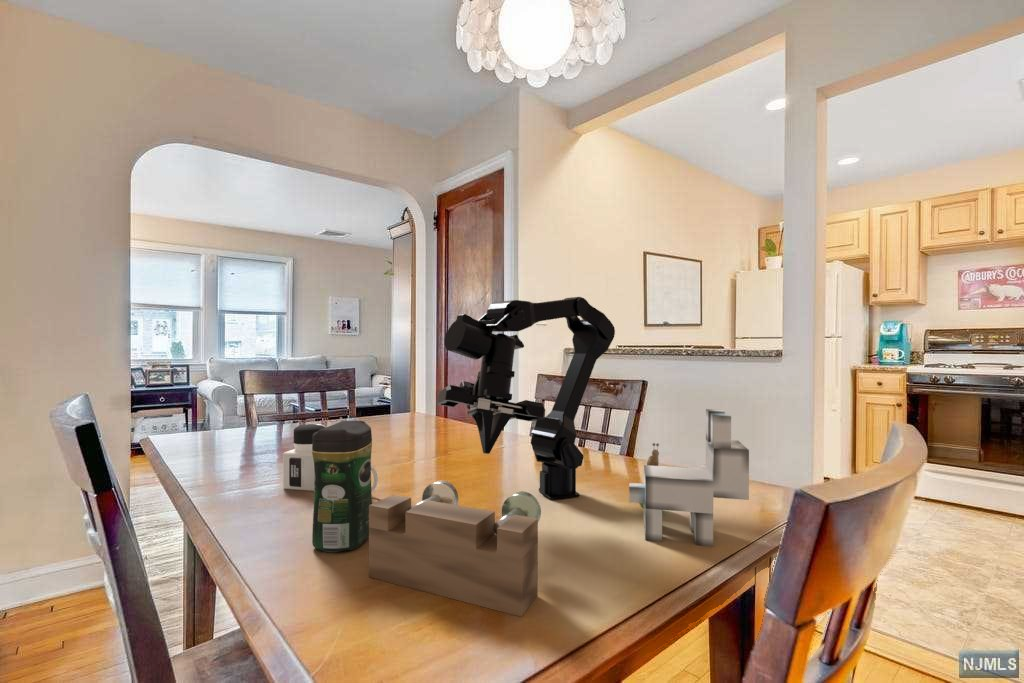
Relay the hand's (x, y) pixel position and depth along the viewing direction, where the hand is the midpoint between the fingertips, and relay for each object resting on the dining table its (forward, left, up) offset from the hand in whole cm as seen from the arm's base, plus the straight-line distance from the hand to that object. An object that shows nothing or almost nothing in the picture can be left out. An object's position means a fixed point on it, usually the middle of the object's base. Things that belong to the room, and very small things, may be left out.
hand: (486, 453), depth 84 cm
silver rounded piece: (+12, +11, -6) cm, 18 cm away
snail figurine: (-31, +5, -12) cm, 33 cm away
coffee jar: (+23, 0, -12) cm, 26 cm away
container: (+29, -34, -12) cm, 47 cm away
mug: (+21, -24, -12) cm, 34 cm away
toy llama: (-29, +16, -12) cm, 35 cm away
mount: (+11, +19, -12) cm, 25 cm away
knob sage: (+3, +20, -6) cm, 22 cm away
